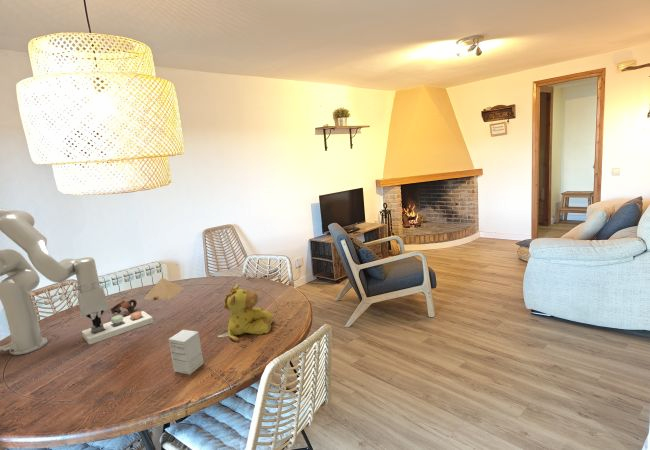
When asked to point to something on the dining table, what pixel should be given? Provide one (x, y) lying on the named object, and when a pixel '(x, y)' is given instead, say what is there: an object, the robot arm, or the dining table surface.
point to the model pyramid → (164, 290)
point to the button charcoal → (97, 329)
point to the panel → (116, 328)
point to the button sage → (117, 320)
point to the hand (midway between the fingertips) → (97, 326)
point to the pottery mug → (125, 305)
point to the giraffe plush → (245, 314)
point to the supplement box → (186, 351)
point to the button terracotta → (136, 316)
